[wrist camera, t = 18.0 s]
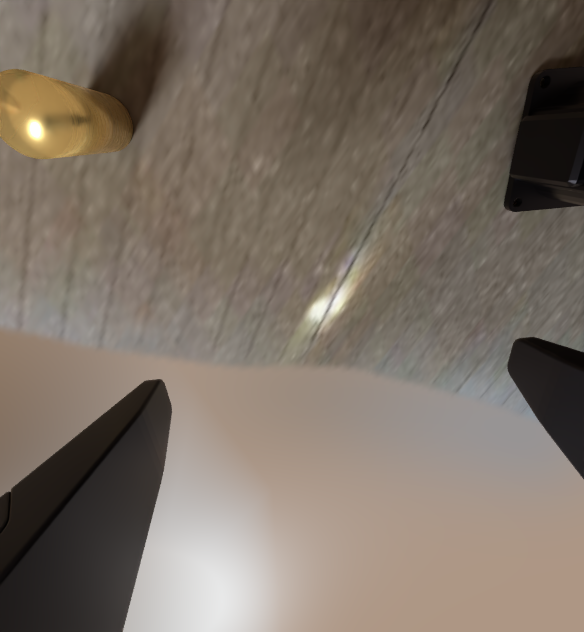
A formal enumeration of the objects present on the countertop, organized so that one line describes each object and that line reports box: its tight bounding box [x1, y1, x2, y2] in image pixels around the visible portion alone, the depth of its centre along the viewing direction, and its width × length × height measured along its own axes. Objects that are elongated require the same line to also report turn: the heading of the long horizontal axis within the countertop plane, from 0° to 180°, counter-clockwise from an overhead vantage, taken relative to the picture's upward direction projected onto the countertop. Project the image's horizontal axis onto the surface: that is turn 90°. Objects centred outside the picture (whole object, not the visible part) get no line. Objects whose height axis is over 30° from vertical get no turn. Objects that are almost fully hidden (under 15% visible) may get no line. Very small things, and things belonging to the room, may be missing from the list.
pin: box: [0, 69, 133, 159], centre depth 13 cm, size 2×2×6 cm
